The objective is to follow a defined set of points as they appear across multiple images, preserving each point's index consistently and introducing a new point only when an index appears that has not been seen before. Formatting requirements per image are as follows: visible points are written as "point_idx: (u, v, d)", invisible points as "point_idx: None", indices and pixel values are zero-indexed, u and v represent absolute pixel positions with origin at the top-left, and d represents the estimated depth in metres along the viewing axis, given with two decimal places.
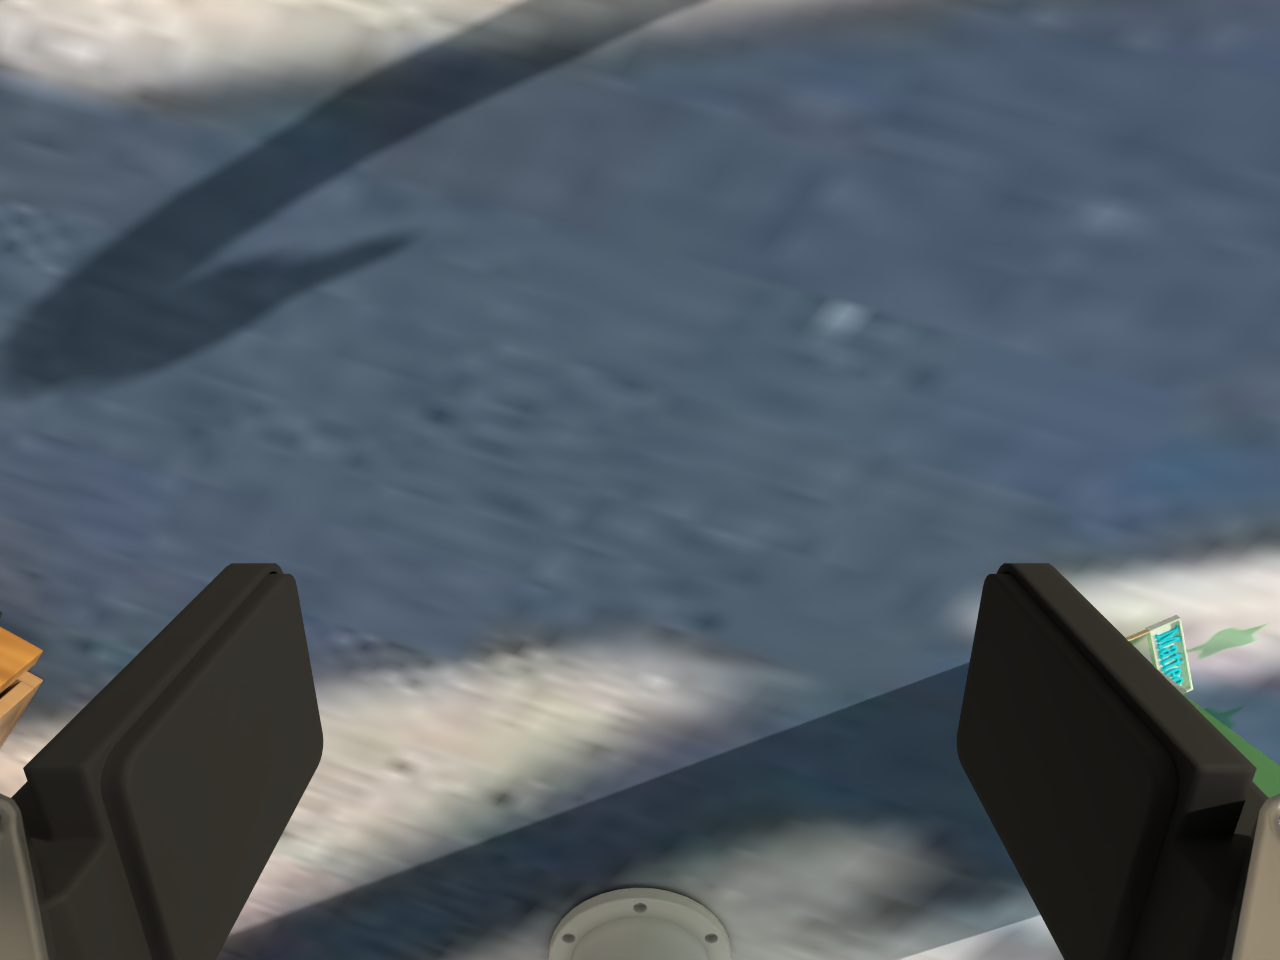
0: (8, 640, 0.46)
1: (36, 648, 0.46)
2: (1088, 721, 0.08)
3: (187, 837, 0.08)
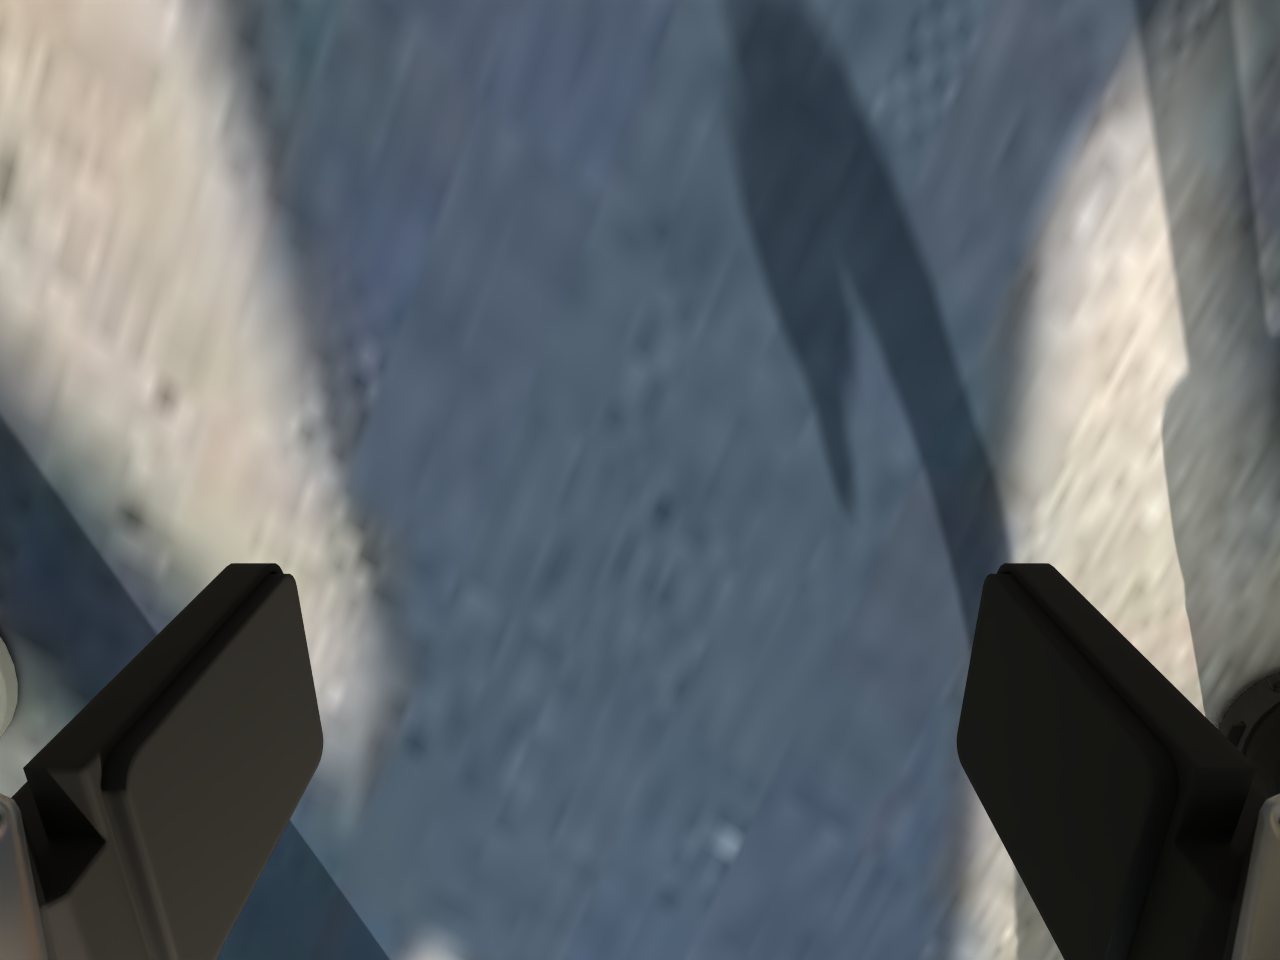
0: None
1: None
2: (1088, 721, 0.08)
3: (187, 837, 0.08)
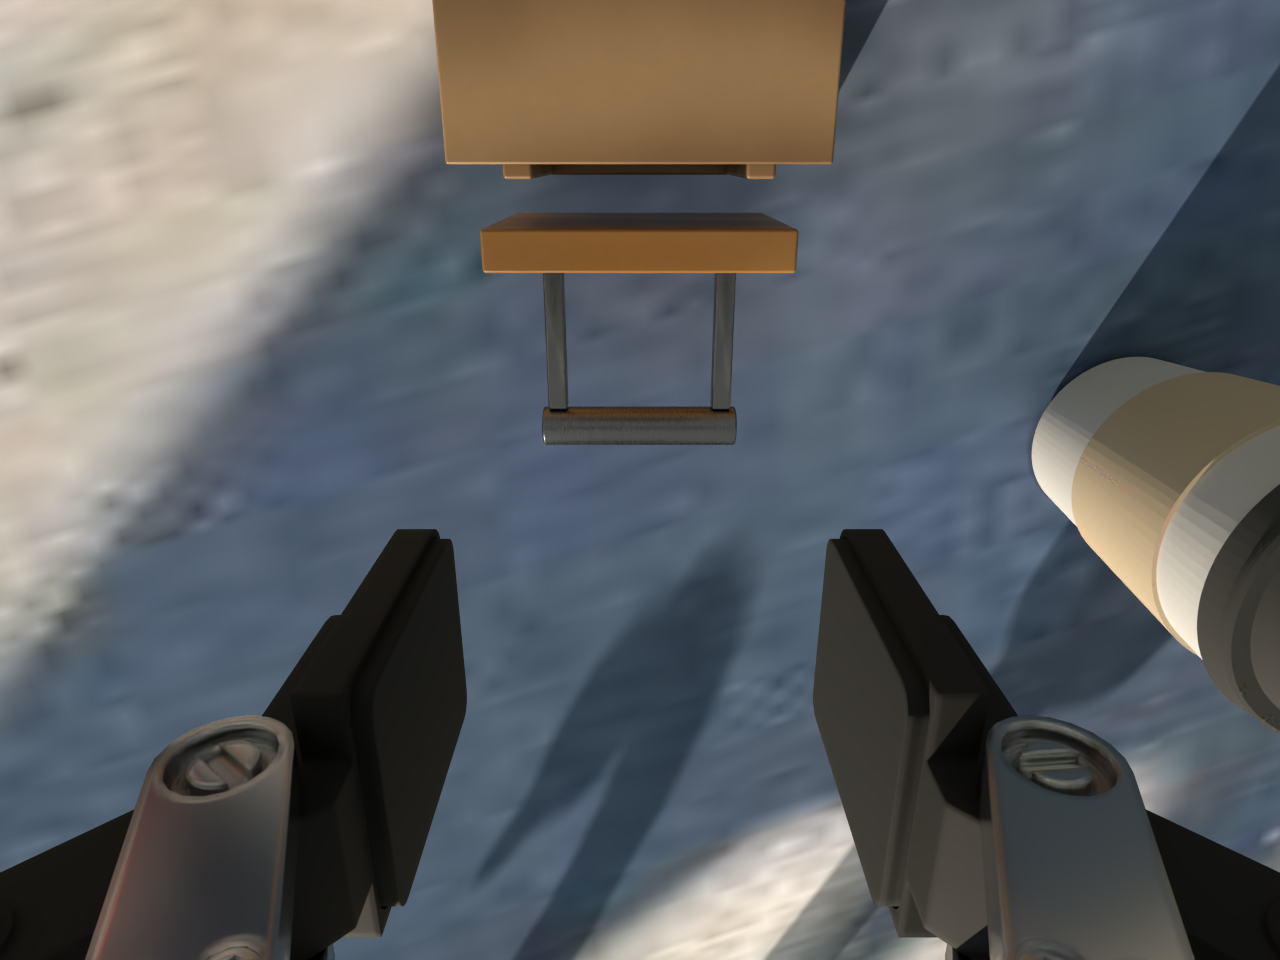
0: None
1: None
2: (877, 662, 0.09)
3: (400, 765, 0.09)
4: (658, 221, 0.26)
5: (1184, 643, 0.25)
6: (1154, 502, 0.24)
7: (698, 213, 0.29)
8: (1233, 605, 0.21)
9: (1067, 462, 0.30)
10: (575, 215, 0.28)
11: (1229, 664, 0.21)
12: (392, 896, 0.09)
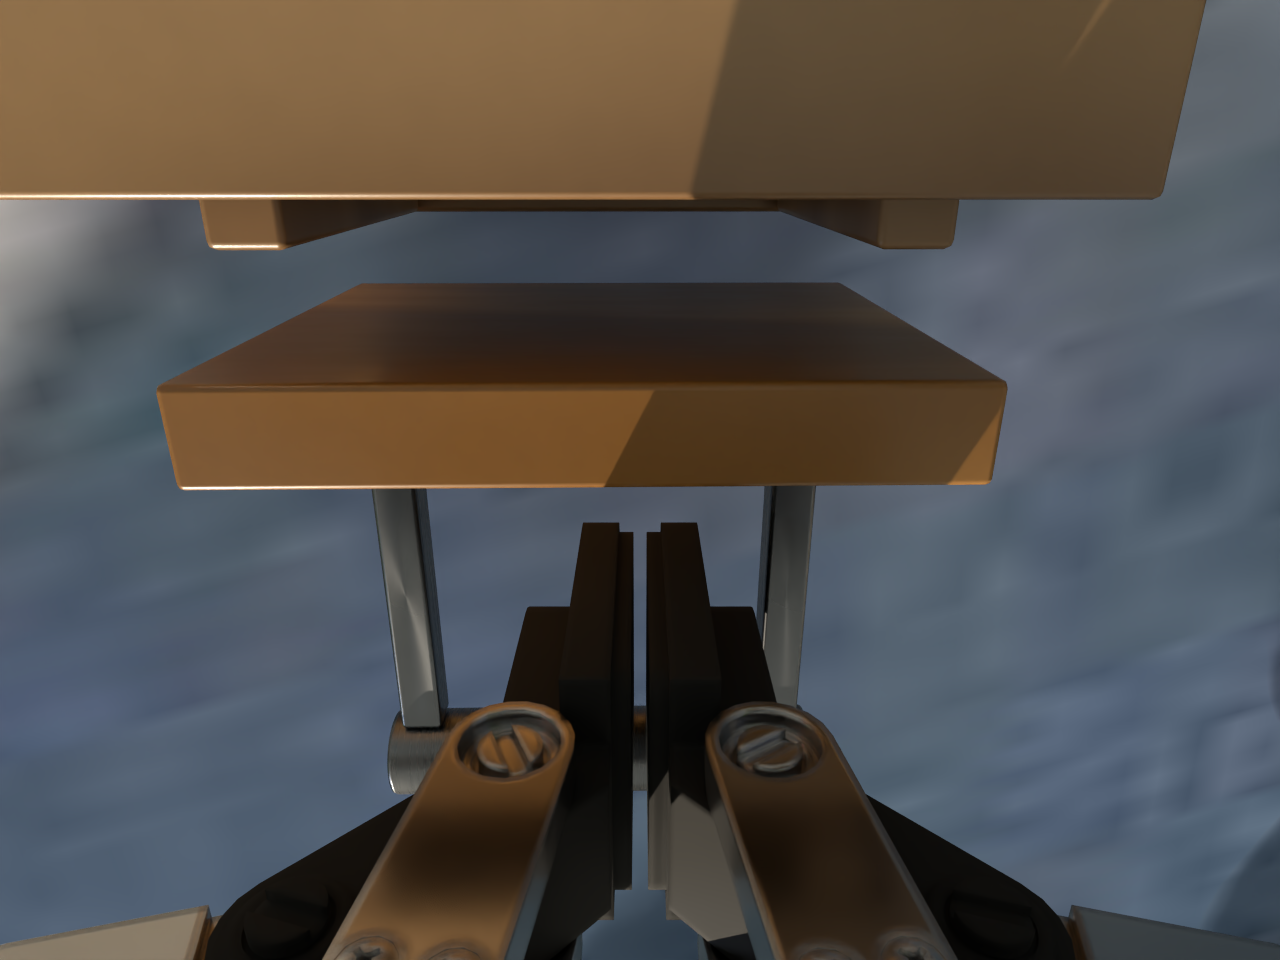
0: None
1: None
2: (647, 651, 0.09)
3: (631, 751, 0.09)
4: (638, 326, 0.11)
5: None
6: None
7: (717, 285, 0.15)
8: None
9: None
10: (468, 295, 0.14)
11: None
12: (624, 879, 0.09)
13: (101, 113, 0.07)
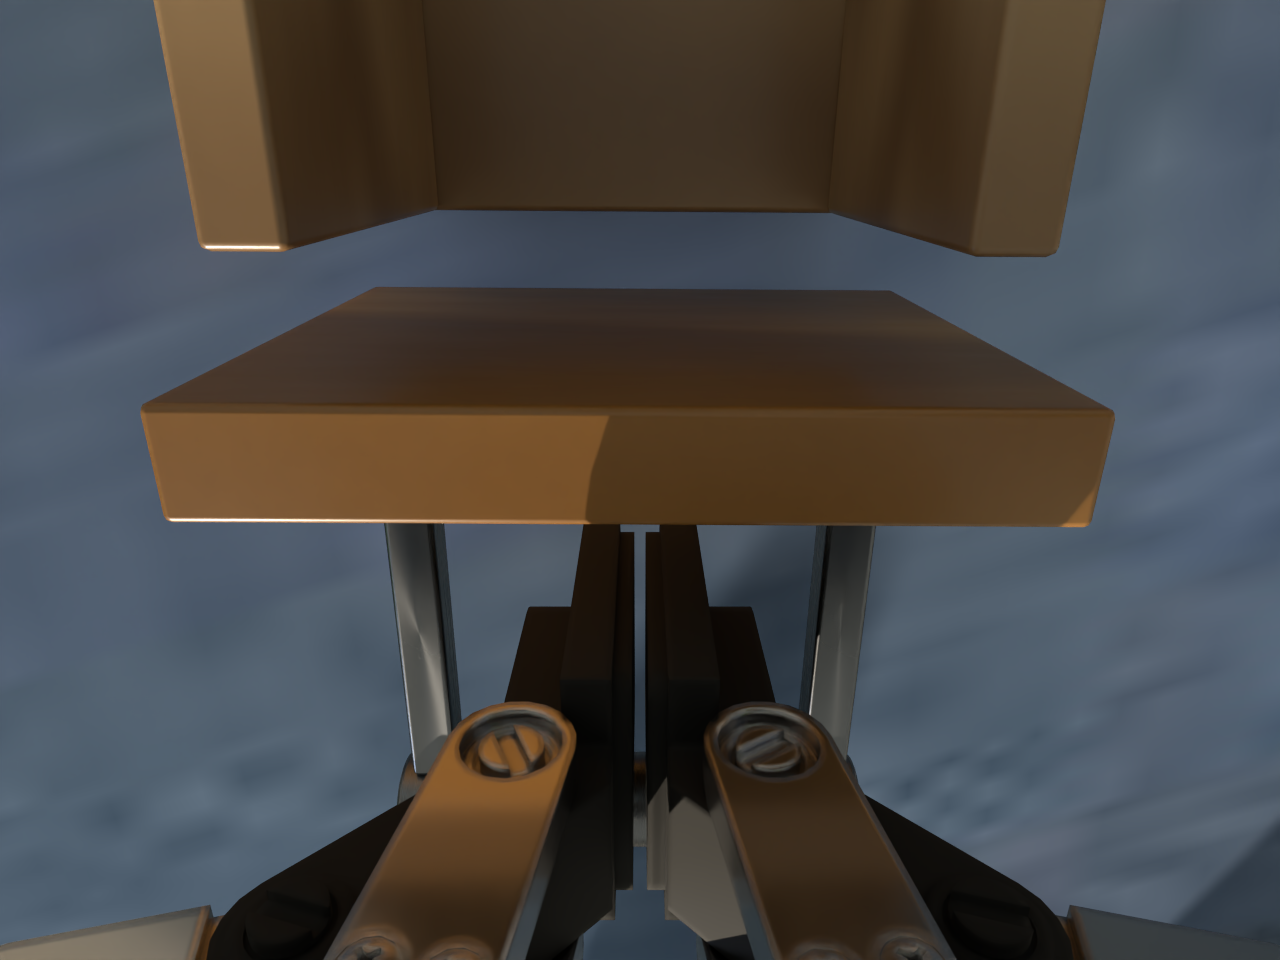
0: None
1: None
2: None
3: None
4: (679, 339, 0.10)
5: None
6: None
7: (758, 292, 0.14)
8: None
9: None
10: (490, 301, 0.13)
11: None
12: (625, 879, 0.09)
13: None
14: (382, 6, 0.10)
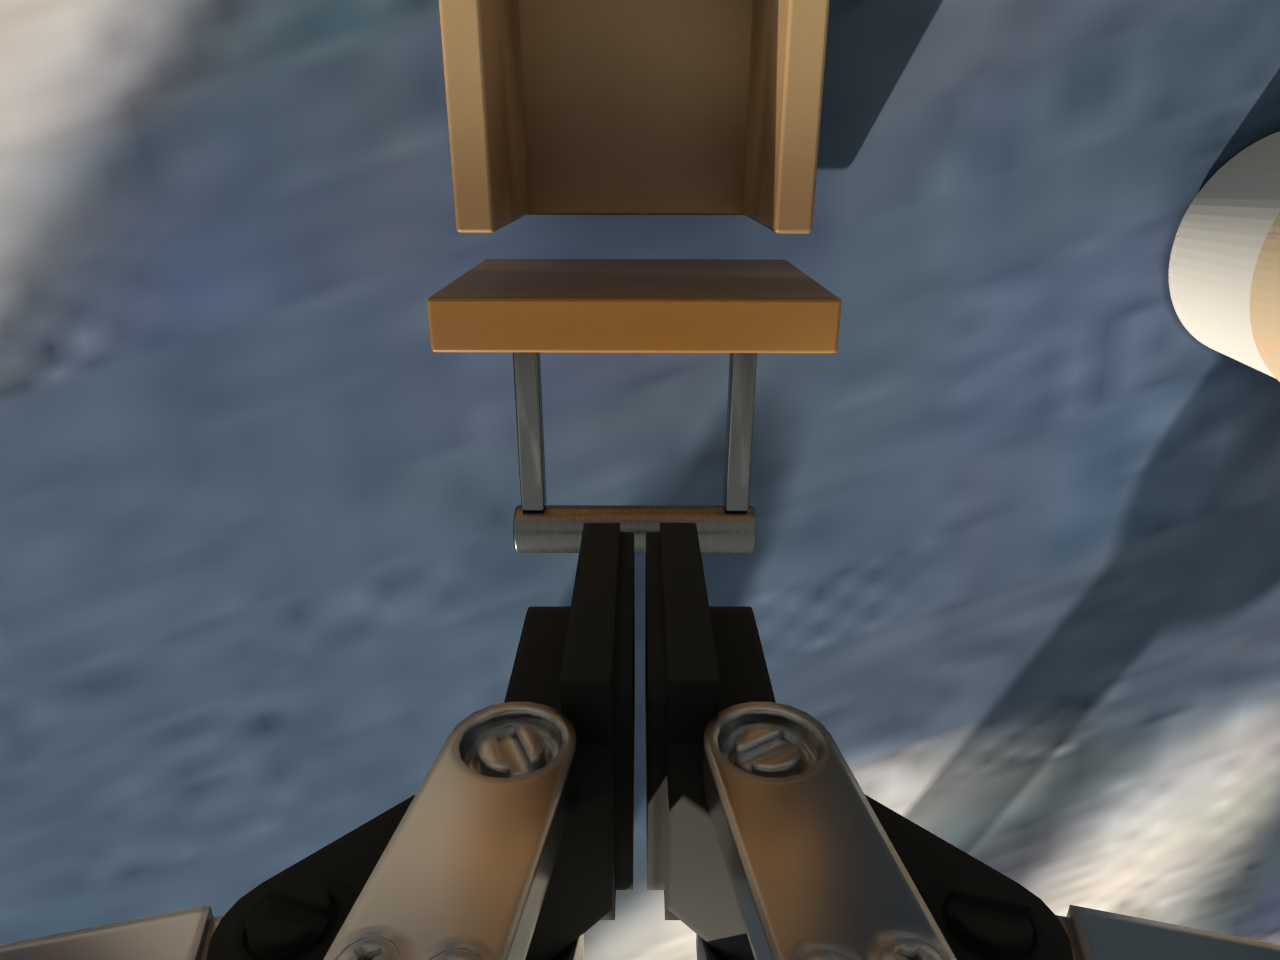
0: None
1: None
2: None
3: None
4: (659, 279, 0.20)
5: None
6: None
7: (708, 260, 0.24)
8: None
9: (1239, 251, 0.21)
10: (556, 265, 0.23)
11: None
12: (625, 880, 0.09)
13: None
14: (512, 116, 0.20)
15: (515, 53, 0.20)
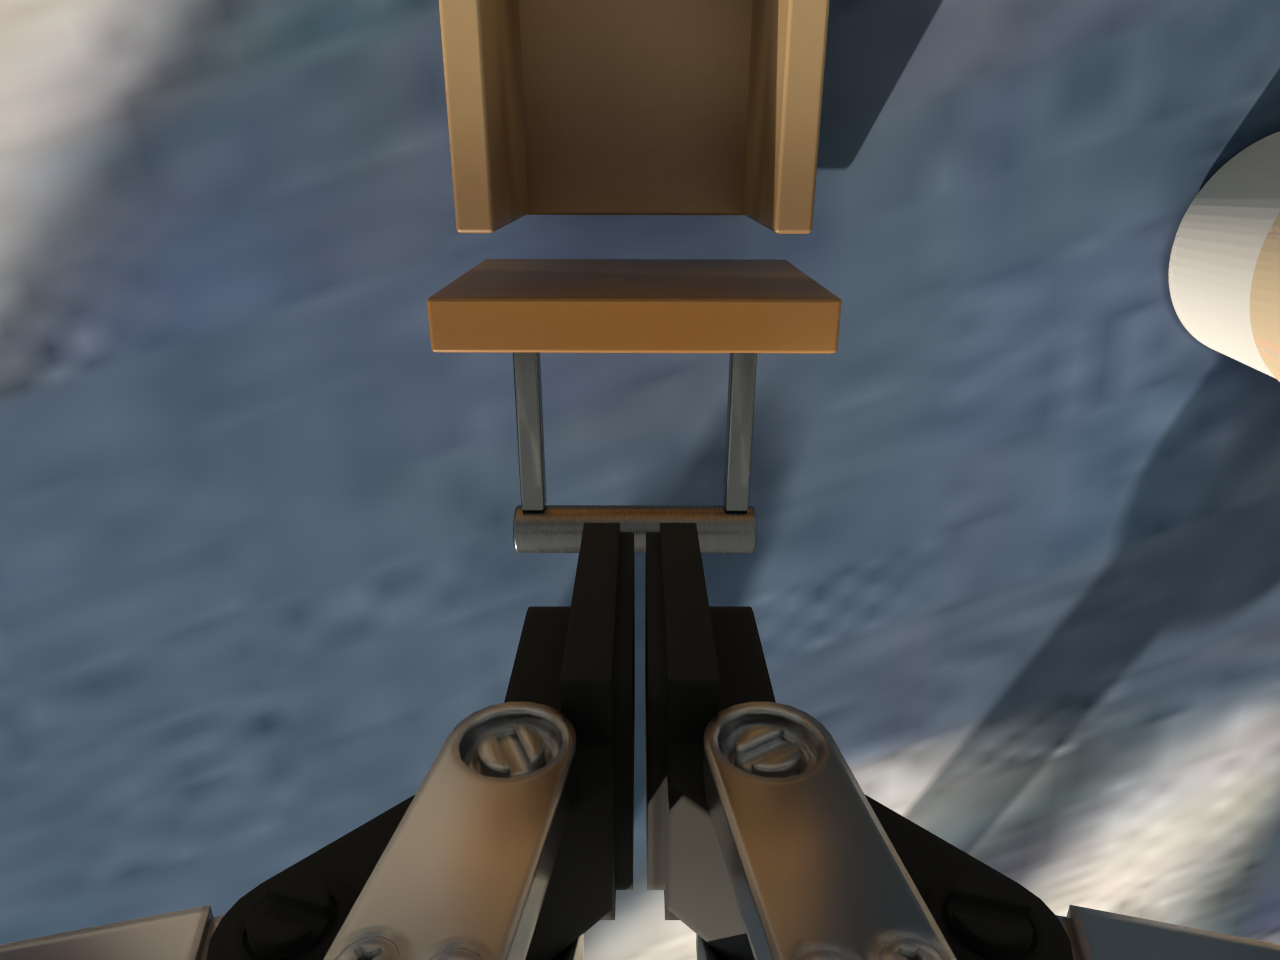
0: None
1: None
2: None
3: None
4: (659, 279, 0.20)
5: None
6: None
7: (708, 260, 0.24)
8: None
9: (1239, 251, 0.21)
10: (556, 265, 0.23)
11: None
12: (625, 880, 0.09)
13: None
14: (512, 116, 0.20)
15: (515, 53, 0.20)
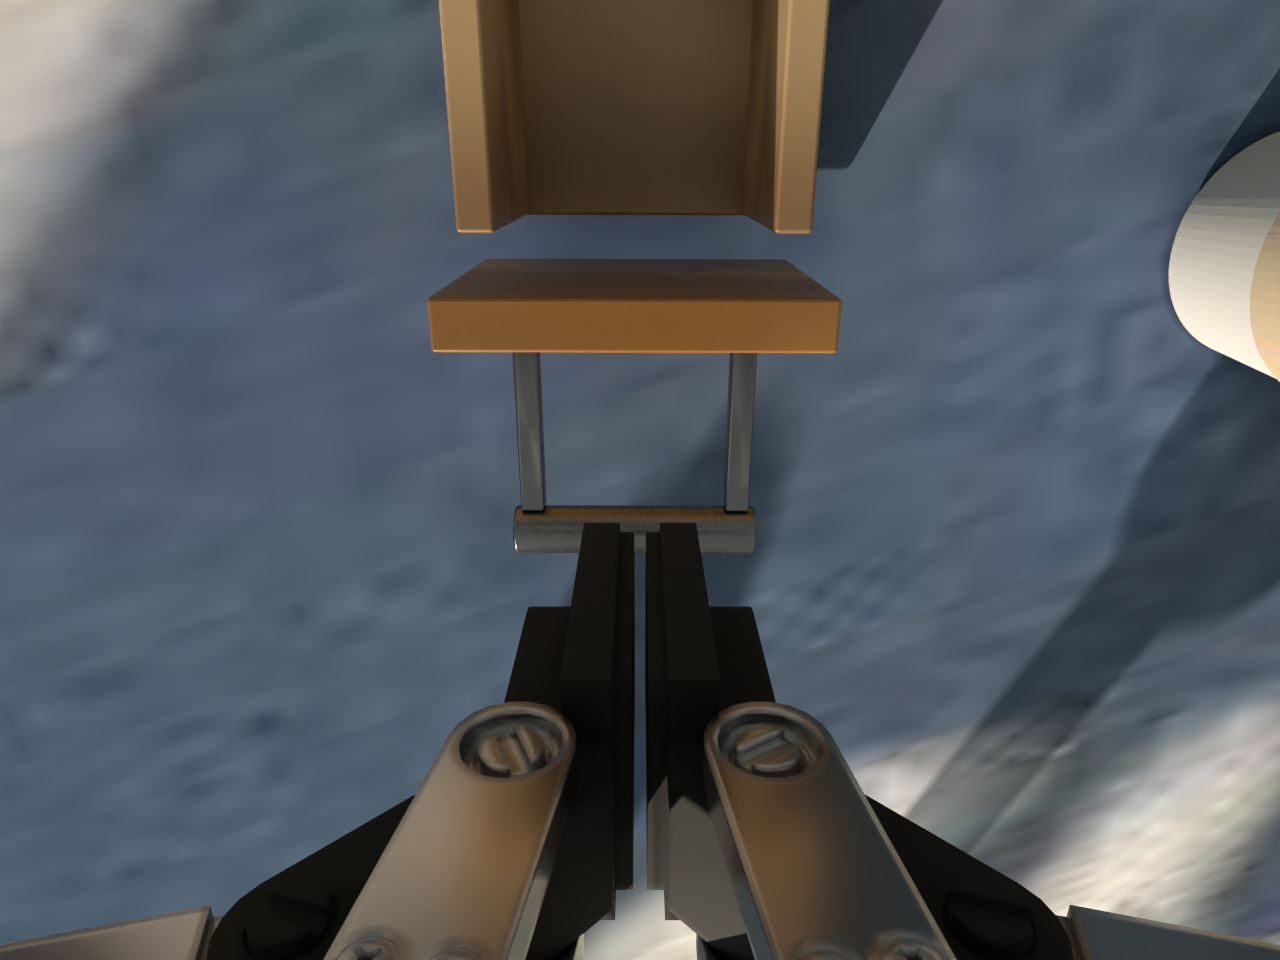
0: None
1: None
2: None
3: None
4: (659, 279, 0.20)
5: None
6: None
7: (708, 260, 0.24)
8: None
9: (1239, 251, 0.21)
10: (556, 265, 0.23)
11: None
12: (625, 880, 0.09)
13: None
14: (513, 116, 0.20)
15: (515, 53, 0.20)
